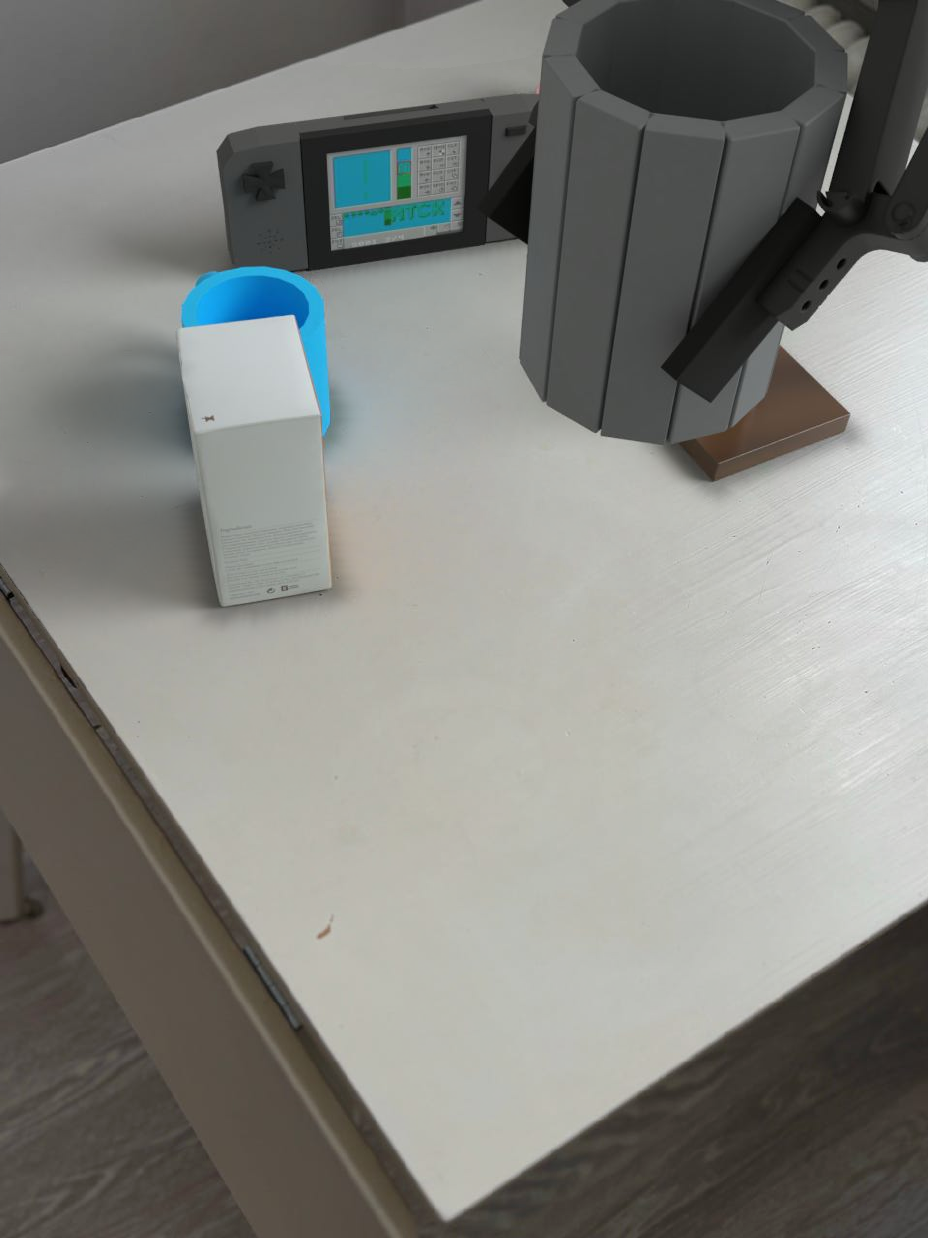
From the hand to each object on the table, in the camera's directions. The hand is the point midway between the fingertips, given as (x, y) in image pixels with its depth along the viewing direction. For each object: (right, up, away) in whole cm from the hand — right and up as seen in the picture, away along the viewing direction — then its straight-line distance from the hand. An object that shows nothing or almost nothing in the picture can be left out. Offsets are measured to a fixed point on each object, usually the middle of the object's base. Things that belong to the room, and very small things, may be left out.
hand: (589, 301), depth 47 cm
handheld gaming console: (-9, +15, +49) cm, 52 cm away
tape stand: (+13, +2, +39) cm, 41 cm away
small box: (-16, -7, +30) cm, 35 cm away
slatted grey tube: (+2, -1, +4) cm, 5 cm away
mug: (-18, +3, +38) cm, 42 cm away
